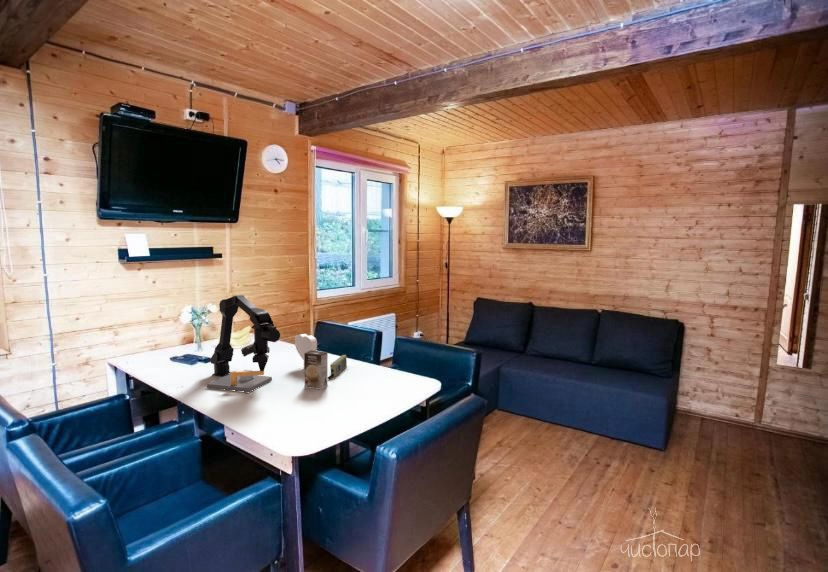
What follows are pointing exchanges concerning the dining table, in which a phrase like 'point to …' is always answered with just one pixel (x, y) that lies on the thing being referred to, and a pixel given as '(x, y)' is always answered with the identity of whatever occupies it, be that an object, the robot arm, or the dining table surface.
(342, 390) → the dining table surface
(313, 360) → the coffee box
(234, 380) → the long orange beam
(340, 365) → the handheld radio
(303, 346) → the heart sculpture
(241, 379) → the plug
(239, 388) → the socket board
